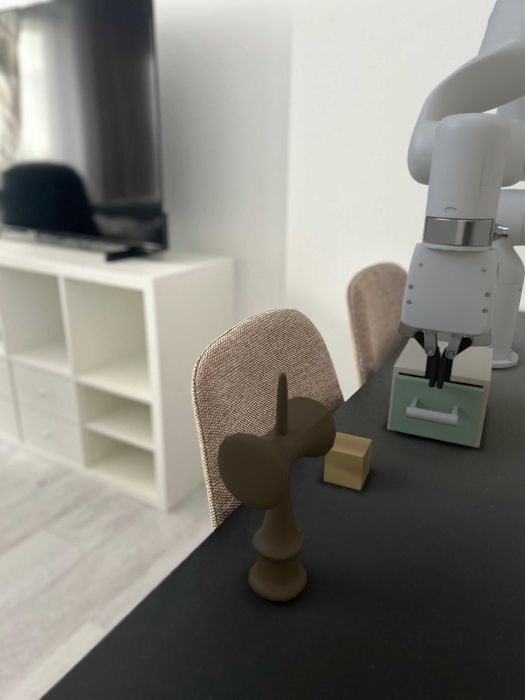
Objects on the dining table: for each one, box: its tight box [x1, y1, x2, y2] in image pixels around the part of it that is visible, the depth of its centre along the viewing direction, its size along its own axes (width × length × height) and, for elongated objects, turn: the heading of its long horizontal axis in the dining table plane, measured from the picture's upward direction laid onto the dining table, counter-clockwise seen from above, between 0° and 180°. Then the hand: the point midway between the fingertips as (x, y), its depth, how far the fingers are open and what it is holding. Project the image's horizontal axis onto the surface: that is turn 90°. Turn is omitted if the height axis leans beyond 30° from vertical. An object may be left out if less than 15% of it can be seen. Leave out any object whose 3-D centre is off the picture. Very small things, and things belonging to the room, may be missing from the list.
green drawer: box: [389, 373, 484, 448], centre depth 70 cm, size 18×11×8 cm, turn 156°
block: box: [323, 431, 373, 491], centre depth 60 cm, size 4×4×4 cm
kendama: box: [216, 372, 337, 603], centre depth 42 cm, size 6×10×20 cm, turn 146°
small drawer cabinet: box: [386, 337, 493, 449], centre depth 74 cm, size 14×12×10 cm
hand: (436, 384), depth 64 cm, fingers closed
